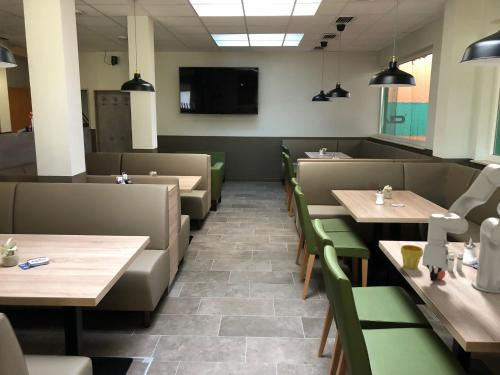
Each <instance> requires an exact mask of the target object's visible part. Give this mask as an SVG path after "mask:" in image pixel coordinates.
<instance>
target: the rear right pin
mask: <svg viewBox="0 0 500 375" xmlns="http://www.w3.org/2000/svg"><path fill="white" fill-rule="evenodd" d="M463 259H464V253H461V252H458V253H457V258H456V269H455V270H456V272H457V271H458V272H462V269H463V263H464V260H463Z"/></svg>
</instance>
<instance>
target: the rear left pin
mask: <svg viewBox="0 0 500 375" xmlns="http://www.w3.org/2000/svg"><path fill="white" fill-rule="evenodd" d="M453 252H454V251H453V250H449V249H448V256H449V254H454V253H453ZM448 262H449V260H448ZM447 269H448V266H447Z"/></svg>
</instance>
